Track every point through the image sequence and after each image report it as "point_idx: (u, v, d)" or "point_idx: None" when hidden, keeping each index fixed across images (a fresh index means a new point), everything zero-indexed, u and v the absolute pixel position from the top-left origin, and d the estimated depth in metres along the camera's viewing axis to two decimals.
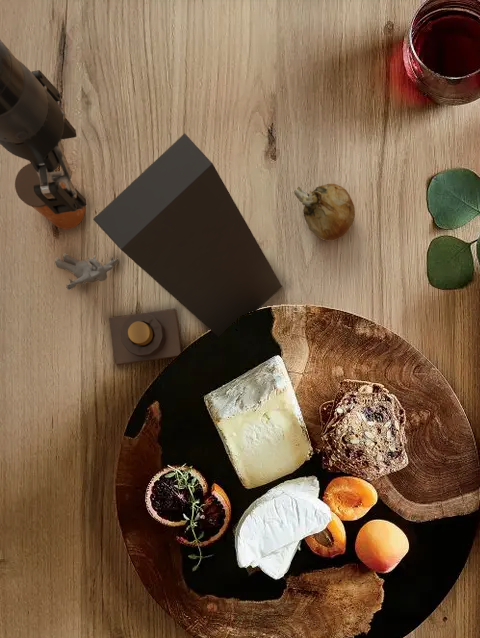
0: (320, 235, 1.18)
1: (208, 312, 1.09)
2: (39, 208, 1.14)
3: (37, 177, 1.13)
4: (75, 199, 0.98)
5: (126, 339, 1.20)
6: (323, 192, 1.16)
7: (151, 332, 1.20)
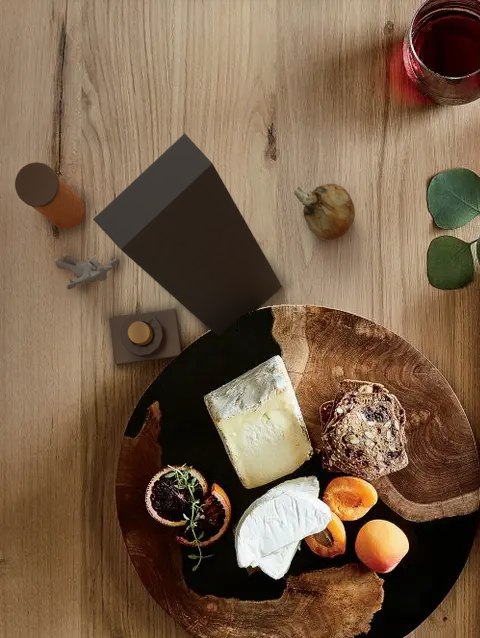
0: (320, 235, 1.18)
1: (208, 312, 1.09)
2: (39, 208, 1.14)
3: (37, 177, 1.13)
4: None
5: (126, 339, 1.20)
6: (323, 192, 1.16)
7: (151, 332, 1.20)
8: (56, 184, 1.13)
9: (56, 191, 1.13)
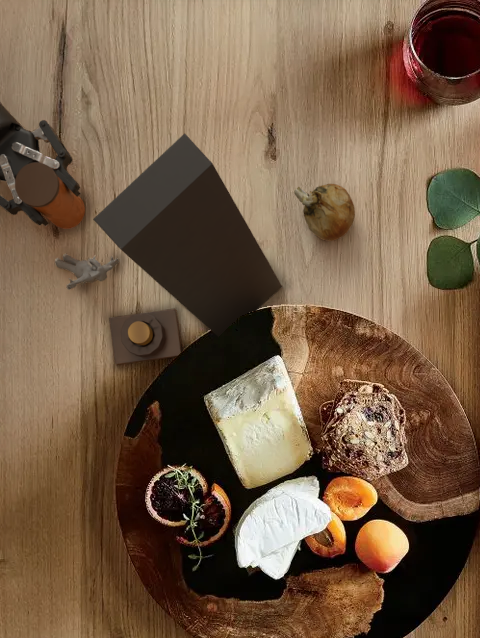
0: (320, 235, 1.18)
1: (208, 312, 1.09)
2: (39, 208, 1.14)
3: (37, 177, 1.13)
4: None
5: (126, 339, 1.20)
6: (323, 192, 1.16)
7: (151, 332, 1.20)
8: (56, 184, 1.13)
9: (56, 191, 1.13)
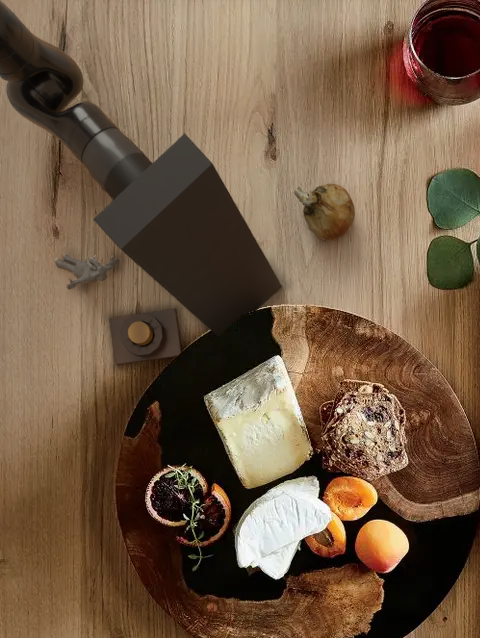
0: (320, 235, 1.18)
1: (208, 312, 1.09)
2: None
3: None
4: None
5: (126, 339, 1.20)
6: (323, 192, 1.16)
7: (151, 332, 1.20)
8: None
9: None
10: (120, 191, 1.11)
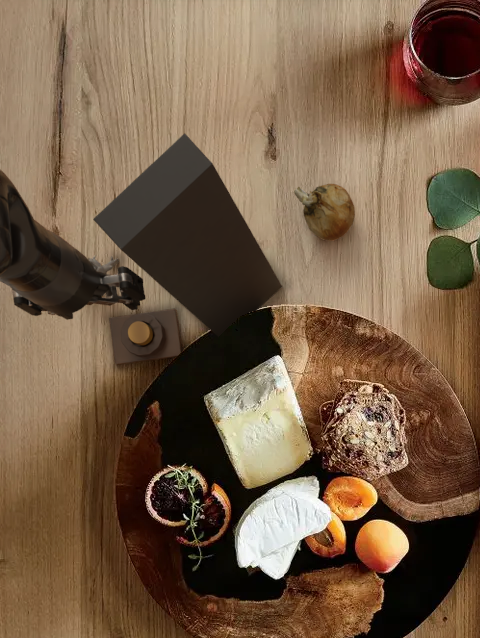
0: (320, 235, 1.18)
1: (208, 312, 1.09)
2: None
3: None
4: None
5: (126, 339, 1.20)
6: (323, 192, 1.16)
7: (151, 332, 1.20)
8: None
9: None
10: (43, 308, 0.92)
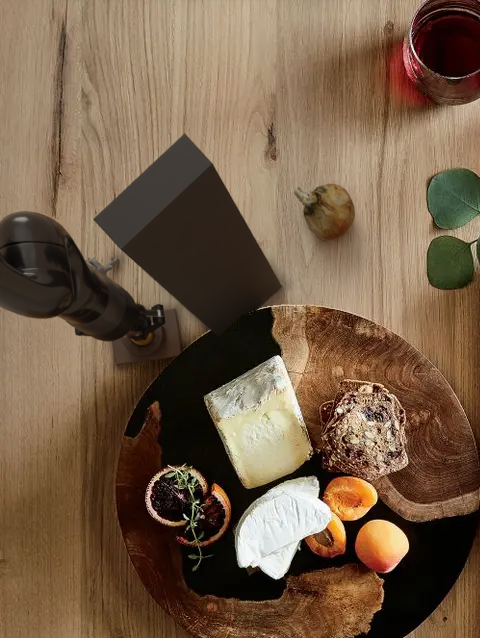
0: (320, 235, 1.18)
1: (208, 312, 1.09)
2: None
3: None
4: None
5: (126, 339, 1.20)
6: (323, 192, 1.16)
7: (152, 333, 1.20)
8: None
9: None
10: None
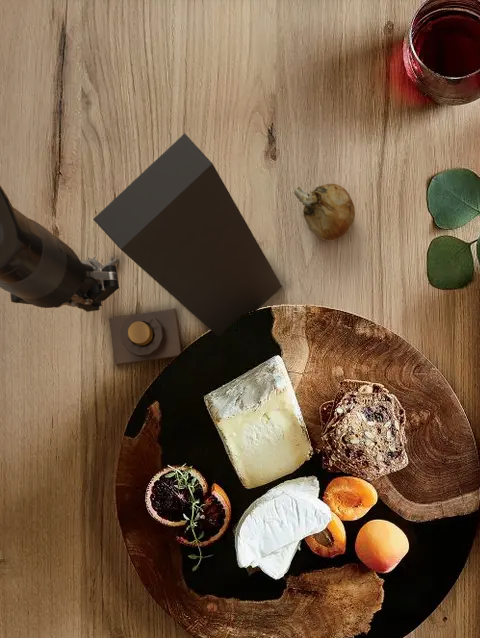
0: (320, 235, 1.18)
1: (208, 312, 1.09)
2: None
3: None
4: None
5: (126, 339, 1.20)
6: (323, 192, 1.16)
7: (151, 332, 1.20)
8: None
9: None
10: (26, 301, 0.88)
